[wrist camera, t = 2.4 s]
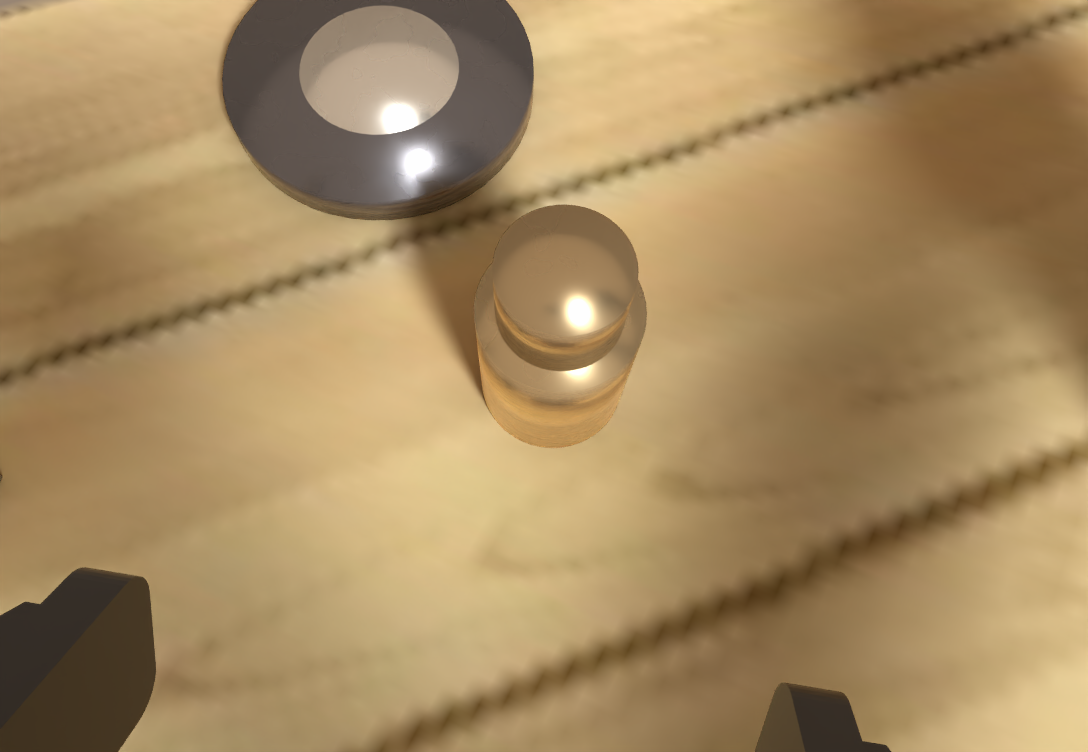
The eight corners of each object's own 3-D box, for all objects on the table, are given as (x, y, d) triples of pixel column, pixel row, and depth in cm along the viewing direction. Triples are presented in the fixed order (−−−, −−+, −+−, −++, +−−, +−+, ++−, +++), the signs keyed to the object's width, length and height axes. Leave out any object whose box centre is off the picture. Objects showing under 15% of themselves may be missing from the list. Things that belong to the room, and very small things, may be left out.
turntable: (505, 242, 36) (504, 224, 35) (194, 194, 37) (181, 174, 35) (553, -3, 41) (555, -27, 40) (278, -44, 41) (269, -69, 40)
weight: (612, 458, 33) (649, 372, 24) (469, 435, 33) (451, 341, 24) (629, 327, 35) (670, 200, 26) (495, 306, 35) (487, 172, 26)
